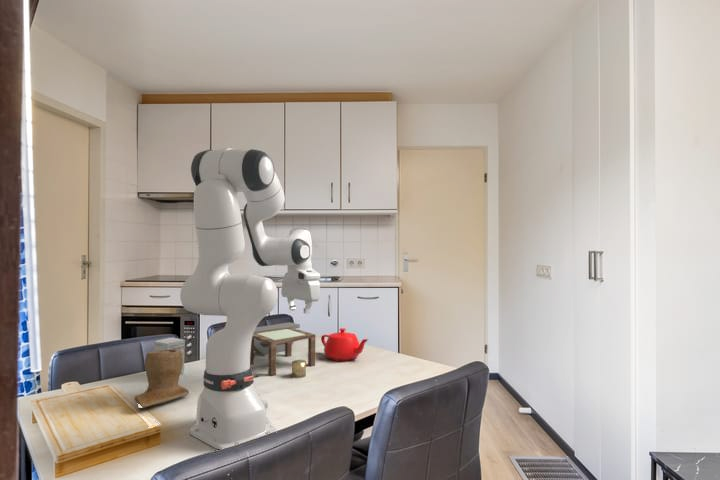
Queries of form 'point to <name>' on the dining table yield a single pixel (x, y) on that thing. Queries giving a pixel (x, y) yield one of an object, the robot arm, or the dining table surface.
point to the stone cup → (162, 378)
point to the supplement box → (171, 346)
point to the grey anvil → (264, 348)
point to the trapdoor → (280, 334)
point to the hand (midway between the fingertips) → (299, 311)
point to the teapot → (342, 345)
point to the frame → (287, 347)
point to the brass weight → (298, 368)
